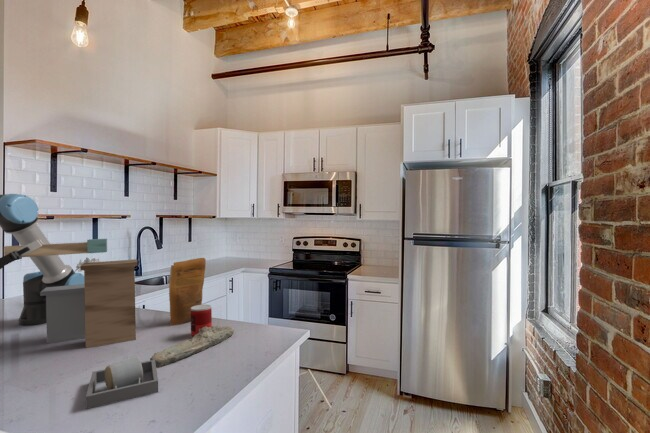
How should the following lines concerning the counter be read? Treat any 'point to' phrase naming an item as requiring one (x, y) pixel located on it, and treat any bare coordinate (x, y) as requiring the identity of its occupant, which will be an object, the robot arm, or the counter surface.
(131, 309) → the walnut pedestal
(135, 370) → the white cylinder
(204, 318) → the canned food
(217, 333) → the long grey stone
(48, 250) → the oak beam
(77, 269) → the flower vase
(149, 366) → the frame
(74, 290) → the tall grey box
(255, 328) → the counter surface
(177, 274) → the pancake mix bag
